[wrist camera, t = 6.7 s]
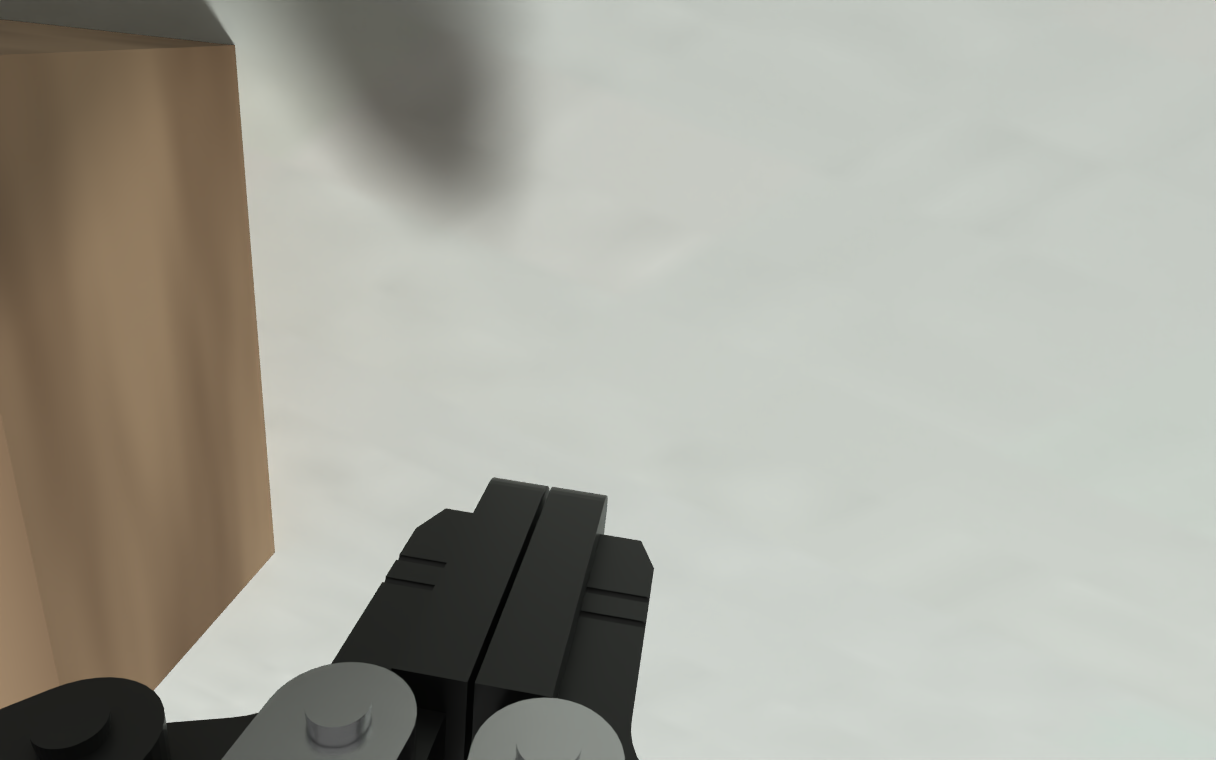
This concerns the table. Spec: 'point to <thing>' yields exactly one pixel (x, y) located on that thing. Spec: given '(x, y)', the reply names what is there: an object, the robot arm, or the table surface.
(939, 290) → the table surface
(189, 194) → the walnut block
